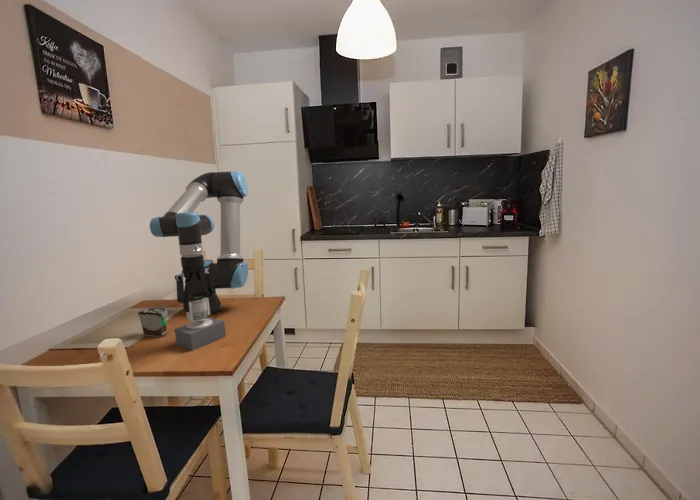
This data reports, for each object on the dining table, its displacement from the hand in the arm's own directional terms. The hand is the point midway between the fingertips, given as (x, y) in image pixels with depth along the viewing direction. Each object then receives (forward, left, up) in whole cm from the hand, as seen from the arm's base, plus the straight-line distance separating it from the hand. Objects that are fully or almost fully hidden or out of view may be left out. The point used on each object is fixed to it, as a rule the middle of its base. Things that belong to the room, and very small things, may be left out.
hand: (198, 316), depth 139 cm
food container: (-22, -4, -9) cm, 24 cm away
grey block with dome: (0, 0, -9) cm, 9 cm away
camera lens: (0, 0, -1) cm, 1 cm away
